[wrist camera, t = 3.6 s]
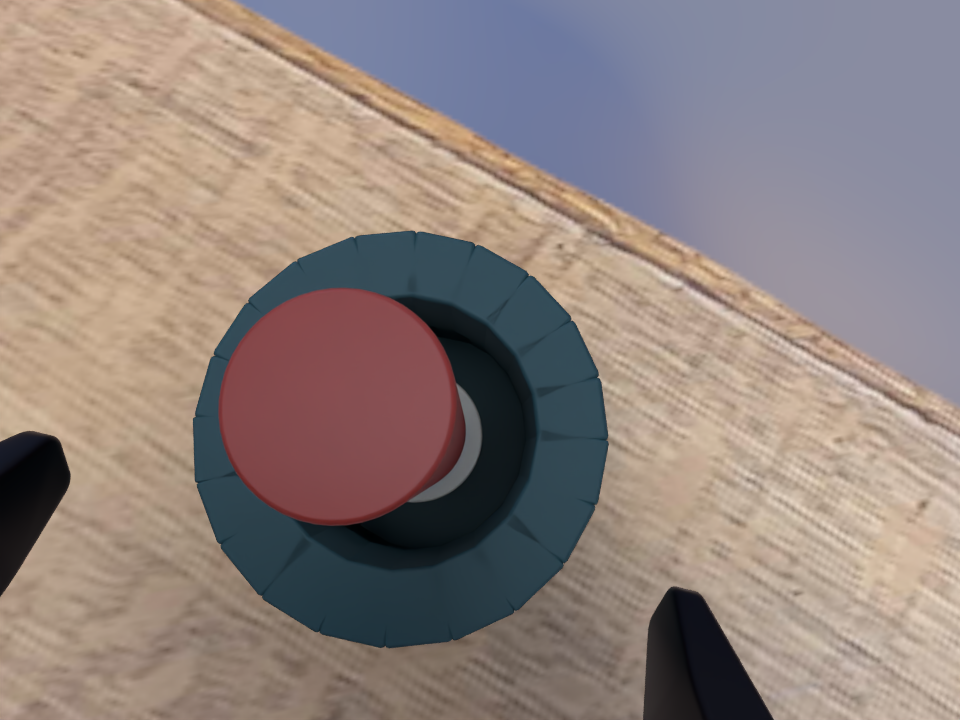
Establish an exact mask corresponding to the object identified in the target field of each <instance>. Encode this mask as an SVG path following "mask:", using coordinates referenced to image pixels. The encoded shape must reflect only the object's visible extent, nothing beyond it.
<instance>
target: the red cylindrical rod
mask: <svg viewBox="0 0 960 720" xmlns="http://www.w3.org/2000/svg"><path fill="white" fill-rule="evenodd" d="M219 425H220V432H221V436H222V441H223V445H224V448H225V450H226V453H227V455H228V458H229V460H230V462H231V464H232V466H233V468H234V469H235V471H236V473H237V475H238V476H239V477H240V479H241V480H242V481H243V483H244V484H245V485H246V486H247V488H248V489H249V490H250V491H251V492H252V493H253V494H254V495H255V496H257V497H258V498H259V499H260V500H261V501H263V502H264V503H265V504H267V505H268V506H269V507H271V508H273V509H274V510H276V511H278V512H280V513H282V514H283V515H286V516H288V517H291V518H293V519H296V520H299V521H303V522H307V523H311V524H316V525H327V526H341V525H351V524H357V523H363V522H366V521H369V520H372V519H375V518H378V517H381V516H383V515H385V514H387V513H389V512H391V511H393V510H395V509H396V508H398V507H400V506H401V505H403V504H404V503H406V502H426V501H432V500H435V499H438V498H441V497H443V496H445V495H447V494H449V493H450V492H452V491H454V490H455V489H456V488H457V487H459V486H460V485H461V484H462V483H463V482H464V481H465V480H466V479H467V478H468V476H469V475H470V473H471V472H472V471H473V469H474V467H475V465H476V463H477V460H478V458H479V455H480V451H481V447H482V425H481V419H480V416H479V413H478V410H477V408H476V406H475V404H474V402H473V401H472V399H471V397H470V396H469V395H468V394H467V392H466V391H465V390H464V389H463V388H462V387H461V386H460V385H458V384H457V383H456V381H455V376H454V373H453V370H452V367H451V363H450V361H449V358H448V356H447V354H446V352H445V350H444V347H443V346H442V344H441V343H440V341H439V339H438V338H437V336H436V335H435V334H434V332H433V331H432V330H431V329H430V328H429V326H428V325H427V324H426V323H425V322H424V321H423V320H422V319H421V318H420V317H419V316H417V315H416V314H415V313H414V312H413V311H411V310H410V309H408V308H407V307H405V306H404V305H403V304H401V303H399V302H397V301H395V300H393V299H391V298H389V297H386V296H384V295H381V294H378V293H375V292H371V291H367V290H362V289H354V288H329V289H322V290H316V291H312V292H309V293H305V294H302V295H299V296H297V297H295V298H292V299H290V300H288V301H286V302H284V303H282V304H281V305H279V306H277V307H275V308H274V309H272V310H271V311H270V312H268V313H267V314H266V315H265V316H263V317H262V318H261V319H260V320H259V321H258V322H257V323H256V324H255V325H254V326H253V327H252V328H251V329H250V330H249V331H248V332H247V333H246V335H245V336H244V337H243V339H242V340H241V341H240V343H239V344H238V346H237V348H236V349H235V351H234V353H233V354H232V356H231V359H230V361H229V363H228V365H227V368H226V370H225V374H224V377H223V380H222V384H221V390H220V396H219Z"/></svg>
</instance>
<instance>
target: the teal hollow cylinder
mask: <svg viewBox="0 0 960 720" xmlns="http://www.w3.org/2000/svg"><path fill="white" fill-rule="evenodd" d="M329 288H354V289H362V290H367V291H371V292H375V293H378V294H381V295H384V296H386V297H389V298H391V299H393V300H395V301H397V302H399V303H401V304H403V305H404V306H405V307H407V308H408V309H410V310H411V311H413V312H414V313H415V314H416V315H417V316H419V317H420V318H421V319H422V320H423V321H424V322H425V323H426V324H427V325H428V326H429V328H430V329H431V330H432V331H433V332H434V334H435V335H436V336H437V338H438V339H439V341H440V343H441V344H442V346H443V347H444V350H445V352H446V354H447V356H448V358H449V361H450V363H451V367H452V370H453V373H454V376H455V381H456V383H457V384H458V385H460V386H461V387H462V388H463V389H464V390H465V391H466V392H467V394H468V395H469V396H470V397H471V399H472V401H473V402H474V404H475V406H476V408H477V410H478V413H479V416H480V419H481V425H482V447H481V451H480V455H479V458H478V460H477V463H476V465H475V467H474V469H473V471H472V472H471V473H470V475H469V476H468V478H467V479H466V480H465V481H464V482H463V483H462V484H461V485H460V486H459V487H457V488H456V489H455V490H454V491H452V492H450V493H449V494H447V495H445V496H443V497H441V498H438V499H435V500H432V501H426V502H406V503H404V504H403V505H401V506H400V507H398V508H396V509H395V510H393V511H391V512H389V513H387V514H385V515H383V516H381V517H378V518H375V519H372V520H369V521H366V522H363V523H357V524H351V525H341V526H327V525H316V524H311V523H307V522H303V521H299V520H296V519H293V518H291V517H288V516H286V515H283V514H282V513H280V512H278V511H276V510H274V509H273V508H271V507H269V506H268V505H267V504H265V503H264V502H263V501H261V500H260V499H259V498H258V497H257V496H255V495H254V494H253V493H252V492H251V491H250V490H249V489H248V488H247V486H246V485H245V484H244V483H243V481H242V480H241V479H240V477H239V476H238V475H237V473H236V471H235V469H234V468H233V466H232V464H231V462H230V460H229V458H228V455H227V453H226V450H225V448H224V445H223V441H222V436H221V432H220V425H219V396H220V390H221V384H222V380H223V377H224V374H225V370H226V368H227V365H228V363H229V361H230V359H231V356H232V354H233V353H234V351H235V349H236V348H237V346H238V344H239V343H240V341H241V340H242V339H243V337H244V336H245V335H246V333H247V332H248V331H249V330H250V329H251V328H252V327H253V326H254V325H255V324H256V323H257V322H258V321H259V320H260V319H261V318H262V317H263V316H265V315H266V314H267V313H268V312H270V311H271V310H272V309H274V308H275V307H277V306H279V305H281V304H282V303H284V302H286V301H288V300H290V299H292V298H295V297H297V296H299V295H302V294H305V293H309V292H312V291H316V290H322V289H329ZM248 301H249V303H246V304H245V305H244V306H243V308H242V309H241V311H240V313H239V314H238V316H237V317H236V319H235V320H234V322H233V323H232V325H231V326H230V328H229V329H228V331H227V332H226V334H225V335H224V337H223V338H222V340H221V341H220V343H219V344H218V346H217V348H216V349H215V351H214V355H215V356H213V357H212V358H211V359H210V362H209V366H208V369H207V373H206V376H205V380H204V383H203V387H202V390H201V394H200V397H199V401H198V404H197V408H196V411H195V416H196V417H195V418H193V436H194V466H195V482H197V483H198V484H197V488H198V491H199V494H200V496H201V499H202V502H203V504H204V507H205V510H206V513H207V515H208V518H209V521H210V524H211V526H212V529H213V532H214V534H215V537H216V540H217V542H218V543H219V544H221V549H222V550H223V552H224V553H225V554H226V555H227V556H228V558H229V559H230V560H231V561H232V563H233V564H234V565H235V566H236V568H237V569H238V570H239V571H240V573H241V574H242V575H243V576H244V577H245V579H246V580H247V581H248V582H249V584H250V585H251V586H252V587H253V589H254V590H255V591H256V592H257V594H258V595H260V596H262V595H263V596H262V598H263V600H265V601H266V602H268V603H269V604H271V605H273V606H274V607H276V608H278V609H279V610H281V611H282V612H284V613H286V614H287V615H289V616H290V617H292V618H294V619H295V620H297V621H298V622H300V623H302V624H303V625H305V626H306V627H308V628H310V629H311V630H313V631H314V632H319V631H320V633H321V634H322V635H326V636H330V637H335V638H339V639H344V640H348V641H353V642H357V643H361V644H366V645H370V646H375V647H379V648H383V647H385V646H386V647H387V648H397V647H406V646H415V645H424V644H433V643H442V642H449V641H451V640H452V639H453V640H458V639H460V638H462V637H464V636H466V635H469V634H471V633H473V632H475V631H477V630H479V629H481V628H484V627H486V626H488V625H490V624H492V623H494V622H496V621H499V620H501V619H503V618H505V617H507V616H509V615H511V614H513V613H514V610H515V611H517V610H519V609H520V608H521V607H522V606H523V605H524V604H525V603H526V602H527V601H528V600H529V599H530V598H531V597H532V596H533V595H535V594H536V593H537V592H538V591H539V590H540V589H541V588H542V587H543V586H544V585H545V584H546V583H547V582H548V581H549V580H550V579H551V578H552V577H554V576H555V575H556V574H557V573H558V572H559V571H560V570H561V569H562V568H563V566H564V565H563V563H565V562H566V561H568V559H569V557H570V555H571V553H572V551H573V550H574V548H575V546H576V544H577V542H578V540H579V538H580V537H581V535H582V533H583V531H584V529H585V527H586V525H587V524H588V522H589V520H590V518H591V516H592V514H593V513H594V511H595V506H594V505H596V504H597V503H598V500H599V494H600V489H601V483H602V478H603V472H604V467H605V461H606V456H607V450H608V445H609V444H608V441H606V440H607V438H608V430H607V422H606V415H605V407H604V399H603V392H602V384H601V381H600V379H599V378H597V377H598V376H599V373H598V370H597V368H596V366H595V364H594V362H593V360H592V357H591V355H590V353H589V351H588V349H587V347H586V345H585V343H584V340H583V338H582V336H581V334H580V332H579V330H578V328H577V326H576V324H575V323H574V322H573V321H571V317H570V315H569V314H568V313H567V312H566V311H565V310H564V309H563V307H562V306H561V305H560V304H559V303H558V302H557V301H556V300H555V299H554V298H553V297H552V296H551V295H550V294H549V292H548V291H547V290H546V289H545V288H544V287H543V286H542V285H541V284H540V283H539V282H538V281H537V280H536V279H535V277H533V276H529V274H528V273H527V271H525V270H523V269H522V268H520V267H518V266H516V265H515V264H513V263H511V262H509V261H507V260H506V259H504V258H502V257H500V256H499V255H497V254H495V253H493V252H491V251H490V250H488V249H486V248H484V247H483V246H480V245H477V246H476V247H475V244H474V243H472V242H468V241H464V240H459V239H454V238H449V237H445V236H440V235H435V234H430V233H426V232H417V233H416V232H415V231H403V232H392V233H381V234H371V235H360V236H356V237H355V238H354V237H350V238H348V239H345V240H343V241H341V242H338V243H336V244H333V245H331V246H328V247H326V248H324V249H321V250H319V251H316V252H314V253H311V254H309V255H307V256H304V257H302V258H299V259H298V260H297V262H296V261H295V262H293V263H292V264H290V265H289V266H288V267H287V268H285V269H284V270H283V271H282V272H281V273H279V274H278V275H277V276H276V277H275V278H273V279H272V280H271V281H270V282H269V283H267V284H266V285H265V286H264V287H262V288H261V289H260V290H259V291H258V292H256V293H255V294H254V295H253V296H252V297H250V298H249V300H248Z"/></svg>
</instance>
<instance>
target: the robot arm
mask: <svg viewBox="0 0 960 720" xmlns="http://www.w3.org/2000/svg"><path fill="white" fill-rule="evenodd" d="M69 484H70V471H69V467H68V464H67V461H66V458H65V455H64V452H63V448H62V445H61V443H60V441H59V440H58V439H57V438H56V437H54V436H51V435H47V434H43V433H39V432H35V431H26V432H22V433H19V434H17V435H14V436H12V437H10V438H8V439H5V440H3V441H1V442H0V596H1V595H2V594H3V592H4V591H5V589H6V588H7V587H8V585H9V584H10V582H11V581H12V579H13V578H14V576H15V575H16V573H17V572H18V570H19V569H20V567H21V565H22V564H23V562H24V560H25V559H26V557H27V555H28V554H29V552H30V551H31V549H32V547H33V546H34V544H35V542H36V541H37V539H38V537H39V536H40V534H41V532H42V531H43V529H44V528H45V526H46V524H47V523H48V521H49V519H50V518H51V516H52V514H53V513H54V511H55V509H56V508H57V506H58V504H59V503H60V501H61V500H62V498H63V496H64V495H65V493H66V491H67V489H68V487H69ZM643 720H774V719H773V717H772V715H771V714H770V712H769V710H768V708H767V707H766V705H765V703H764V701H763V700H762V698H761V696H760V695H759V693H758V691H757V689H756V688H755V686H754V684H753V682H752V681H751V679H750V677H749V675H748V674H747V672H746V670H745V669H744V667H743V665H742V663H741V662H740V660H739V658H738V656H737V655H736V653H735V651H734V649H733V648H732V646H731V644H730V643H729V641H728V639H727V637H726V636H725V634H724V632H723V630H722V629H721V627H720V625H719V623H718V622H717V620H716V618H715V616H714V615H713V613H712V611H711V610H710V608H709V606H708V604H707V603H706V601H705V599H704V598H703V597H702V595H700V594H699V593H698V592H696V591H692V590H688V589H684V588H679V587H671V588H669V589H668V591H667V592H666V594H665V595H664V597H663V599H662V600H661V602H660V604H659V605H658V607H657V609H656V610H655V612H654V614H653V615H652V617H651V620H650V623H649V628H648V640H647V658H646V676H645V694H644V712H643Z"/></svg>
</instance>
